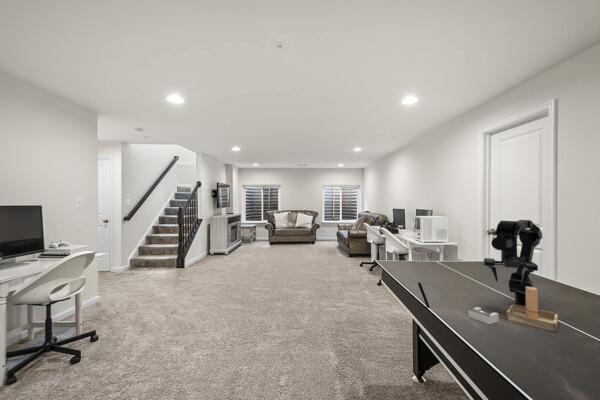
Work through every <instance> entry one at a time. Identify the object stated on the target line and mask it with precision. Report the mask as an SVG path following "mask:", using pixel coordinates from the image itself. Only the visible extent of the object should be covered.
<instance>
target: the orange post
mask: <svg viewBox="0 0 600 400" xmlns="http://www.w3.org/2000/svg"><path fill="white" fill-rule="evenodd" d="M538 309H539V291H538V289H537V287H535V286H534V287H527V286H526V317H529V318H533V319H538Z"/></svg>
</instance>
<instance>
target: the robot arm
mask: <svg viewBox="0 0 600 400" xmlns="http://www.w3.org/2000/svg"><path fill="white" fill-rule="evenodd" d="M494 236H496V237H494V238H492V241H491V246H492V248H493V249H495V250H497V251H501V252H500V254H501V255H500V257H501V259H500V260H496V259H494V258H489V257H484V258H483V265H484V266H486V267H487V268H488V269H491V271H492V273H493V276H494V280H495V281H496V282H498V273H497V267H496V266H503V267H505V268H512V269H516V271H515V272H512V273H511V274H510V279H508V288H509V293H514V303H513V304H515V305H520V306H525V307H526V286H527V287H535V286H534V284H533V280H532V278H531V276H530V274H531V273H534V272H538V271H539V266H538V264H536V263H535V262H534V261H533V256H534V251H535V248H536V247H538V246H539V245H540V242H541V240H542V239H543V233H542V231H541V228H540V227H538V226H537V225H535V224H534V223H533V221H532V220H530V219H520V220H515V221H514V220H513V221H512V220H500V221H499V222H498V224H497V225H496V229H495V231H494ZM518 239H519V241H520V243H521V248H520V251H519V252H520V254H519V256H518Z"/></svg>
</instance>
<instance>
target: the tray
mask: <svg viewBox="0 0 600 400" xmlns="http://www.w3.org/2000/svg"><path fill="white" fill-rule="evenodd" d="M505 320H506V321H509V322H514V323H518V324H521V325H525V326H529V327H533V328H537V329H542V330H546V331H549V332H553V333H557V330H558V329H557V328H558V323H559V313H556V312H552V311H547V310H542V309H539V308H538V319H533V318H529V317H526V307H525V306H520V305H515V304H514V303H511V304H510V306H509V308H508V309H507V311H506V312H505Z"/></svg>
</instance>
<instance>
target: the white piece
mask: <svg viewBox="0 0 600 400" xmlns="http://www.w3.org/2000/svg"><path fill="white" fill-rule="evenodd" d="M468 318H471V319H473V320H476V321H479V322H482V323H484V324H487V325H491V324H494V323H498V322H499V321H500V319H499V313H498V312H492V313H491V312H490V313H488V312H486V311H482V307H480V306H476V307H468Z"/></svg>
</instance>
